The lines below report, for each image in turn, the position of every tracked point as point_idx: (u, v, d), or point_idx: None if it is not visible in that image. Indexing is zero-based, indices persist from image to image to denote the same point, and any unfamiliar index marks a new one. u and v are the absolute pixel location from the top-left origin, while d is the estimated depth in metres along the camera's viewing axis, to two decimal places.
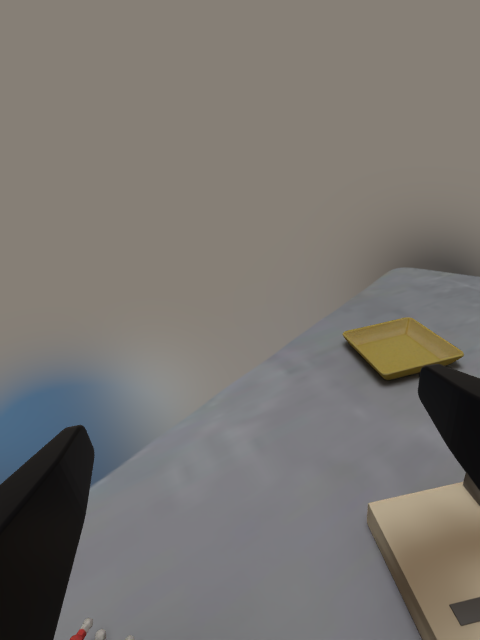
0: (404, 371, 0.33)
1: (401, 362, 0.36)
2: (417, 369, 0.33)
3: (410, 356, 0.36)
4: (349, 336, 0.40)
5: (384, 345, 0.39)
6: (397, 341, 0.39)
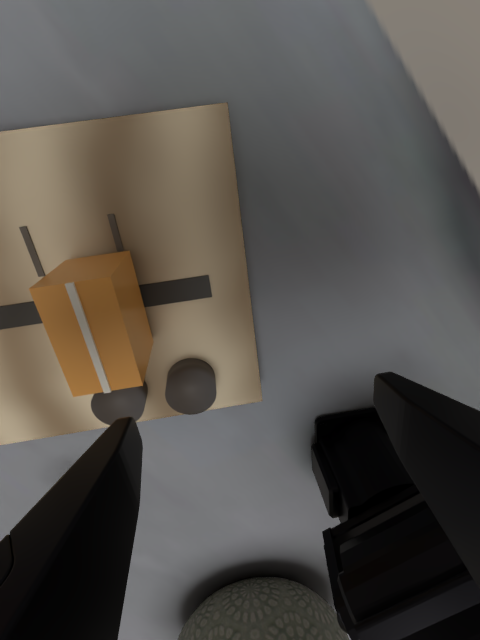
0: None
1: None
2: None
3: None
4: None
5: None
6: None
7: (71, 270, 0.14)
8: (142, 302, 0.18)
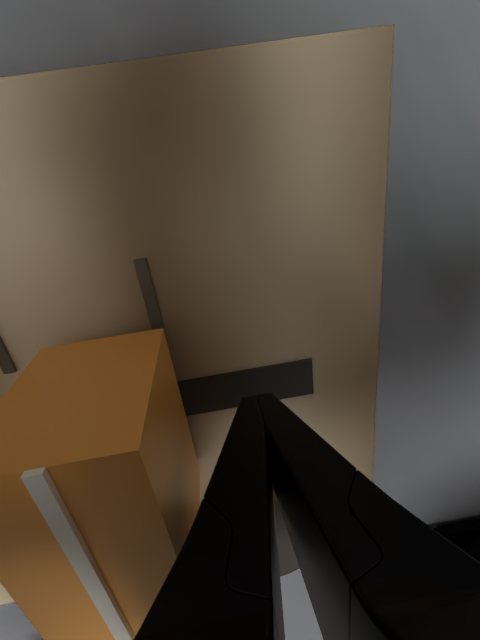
0: None
1: None
2: None
3: None
4: None
5: None
6: None
7: (46, 397, 0.07)
8: (184, 414, 0.10)
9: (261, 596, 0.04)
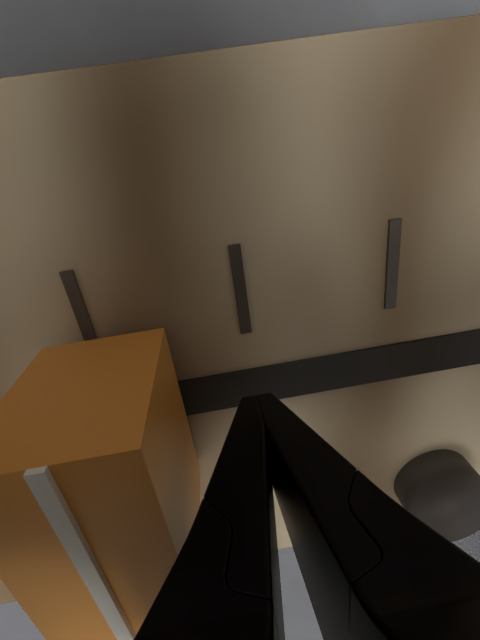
0: None
1: None
2: None
3: None
4: None
5: None
6: None
7: (48, 397, 0.07)
8: (184, 413, 0.10)
9: (261, 596, 0.04)
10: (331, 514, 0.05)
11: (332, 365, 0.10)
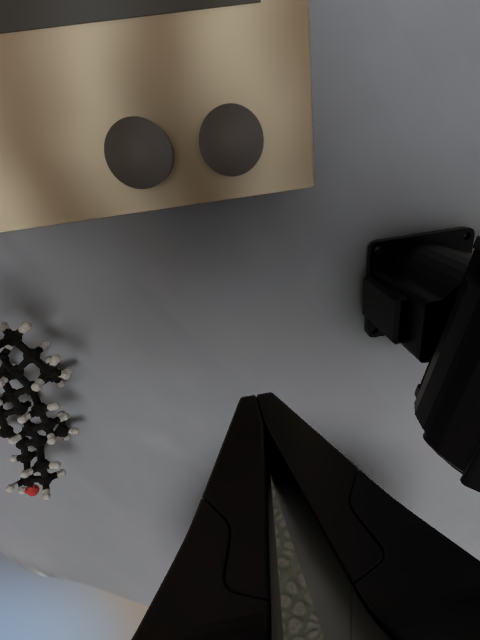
0: None
1: None
2: None
3: None
4: None
5: None
6: None
7: None
8: None
9: (259, 596, 0.04)
10: (332, 514, 0.05)
11: None
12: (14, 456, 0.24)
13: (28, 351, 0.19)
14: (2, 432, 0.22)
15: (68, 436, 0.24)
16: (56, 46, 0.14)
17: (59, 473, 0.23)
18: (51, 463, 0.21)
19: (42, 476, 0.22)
